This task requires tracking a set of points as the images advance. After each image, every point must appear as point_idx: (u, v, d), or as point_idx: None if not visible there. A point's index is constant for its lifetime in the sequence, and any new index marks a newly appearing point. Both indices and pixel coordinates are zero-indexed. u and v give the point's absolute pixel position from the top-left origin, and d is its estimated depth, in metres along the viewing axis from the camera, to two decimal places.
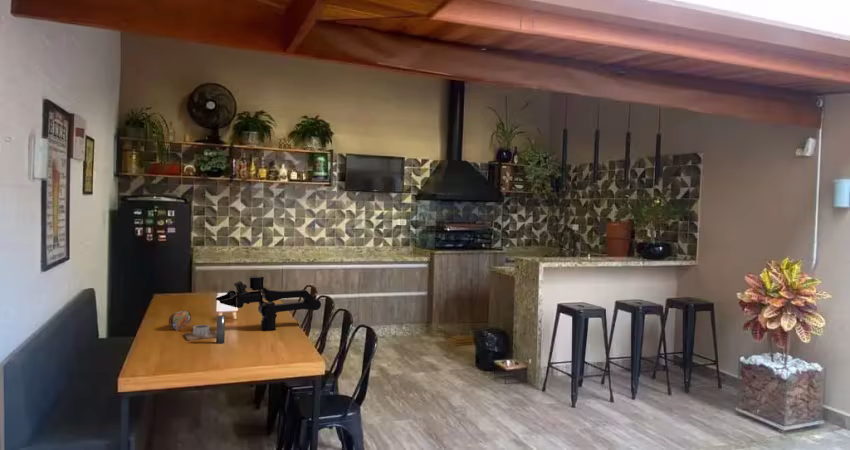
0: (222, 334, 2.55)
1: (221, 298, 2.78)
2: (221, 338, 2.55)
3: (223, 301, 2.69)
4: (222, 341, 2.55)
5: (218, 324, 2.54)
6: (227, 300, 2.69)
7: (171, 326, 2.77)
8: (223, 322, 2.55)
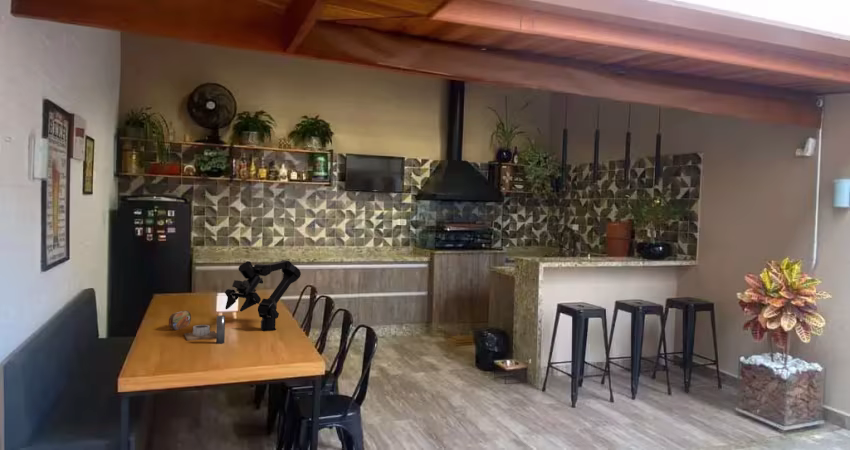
0: (222, 334, 2.55)
1: (229, 304, 2.67)
2: (221, 338, 2.55)
3: (243, 308, 2.62)
4: (222, 341, 2.55)
5: (218, 324, 2.54)
6: (245, 305, 2.63)
7: (171, 326, 2.77)
8: (223, 322, 2.55)
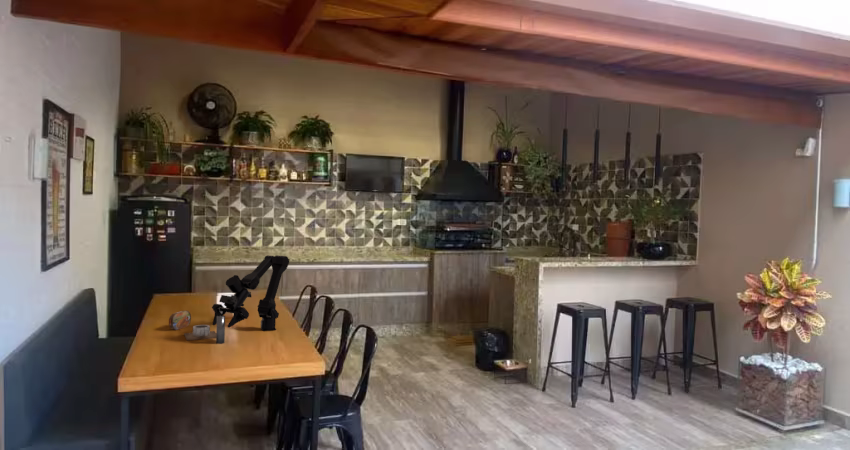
0: (222, 334, 2.55)
1: (216, 320, 2.60)
2: (221, 338, 2.55)
3: (230, 324, 2.55)
4: (222, 341, 2.55)
5: (218, 324, 2.54)
6: (233, 320, 2.55)
7: (171, 326, 2.77)
8: (223, 322, 2.55)
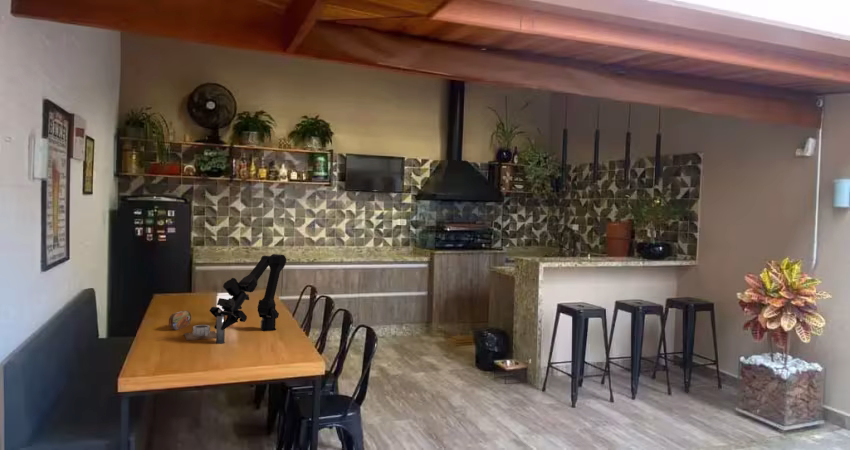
0: (222, 334, 2.55)
1: None
2: (221, 338, 2.55)
3: (224, 326, 2.55)
4: (222, 341, 2.55)
5: (218, 324, 2.54)
6: (226, 323, 2.55)
7: (171, 326, 2.77)
8: (223, 322, 2.55)
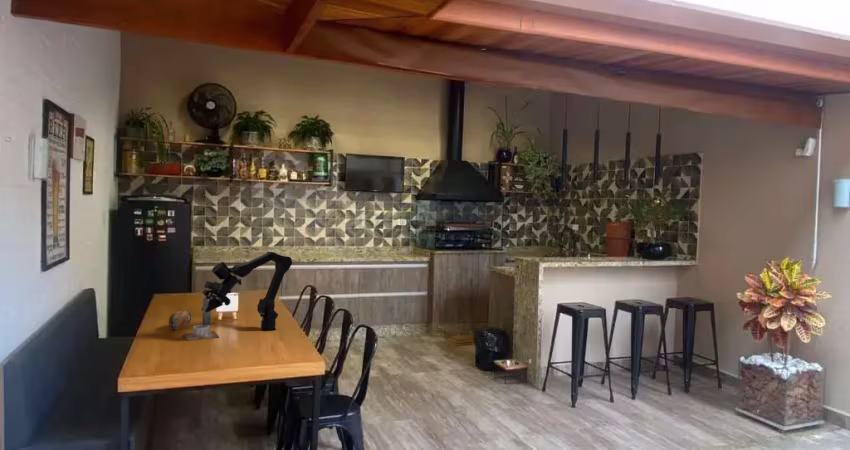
0: (207, 316, 2.60)
1: None
2: (206, 320, 2.60)
3: (208, 309, 2.60)
4: (207, 323, 2.61)
5: (203, 306, 2.60)
6: (211, 305, 2.60)
7: (171, 326, 2.77)
8: (208, 304, 2.60)
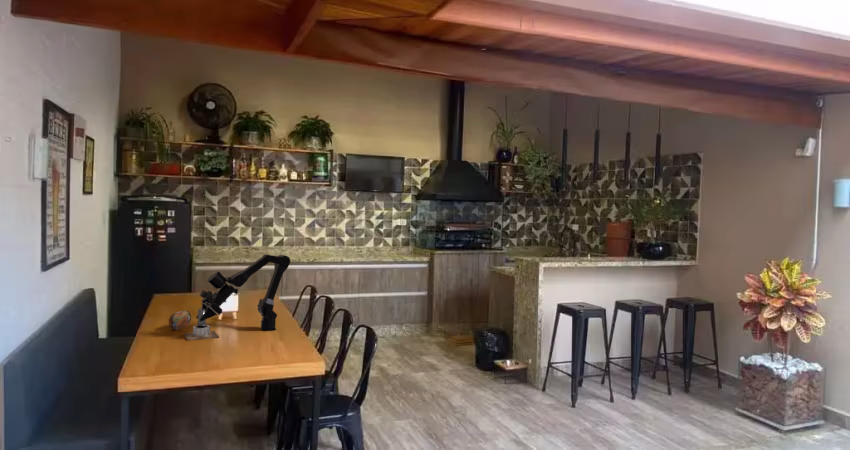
0: (201, 326, 2.65)
1: None
2: None
3: (202, 318, 2.63)
4: None
5: (198, 316, 2.66)
6: (205, 315, 2.63)
7: (171, 326, 2.77)
8: (202, 315, 2.66)
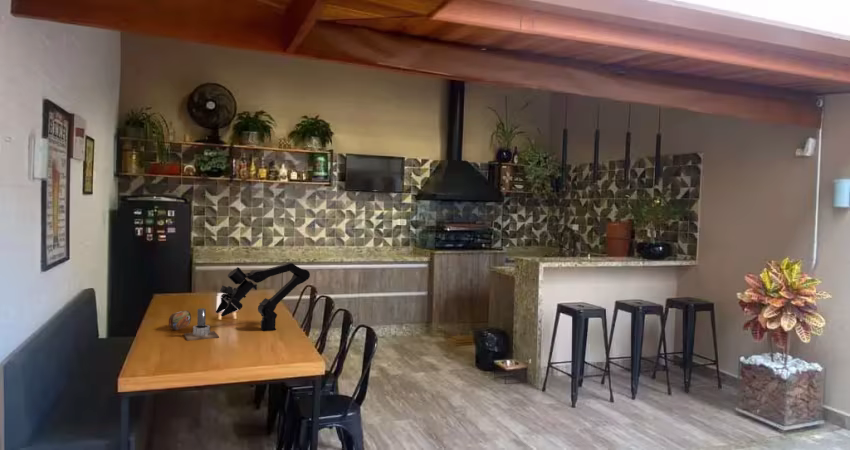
0: (201, 326, 2.65)
1: (220, 308, 2.76)
2: None
3: (223, 313, 2.68)
4: None
5: (197, 316, 2.66)
6: (226, 310, 2.68)
7: (171, 326, 2.77)
8: (202, 315, 2.65)
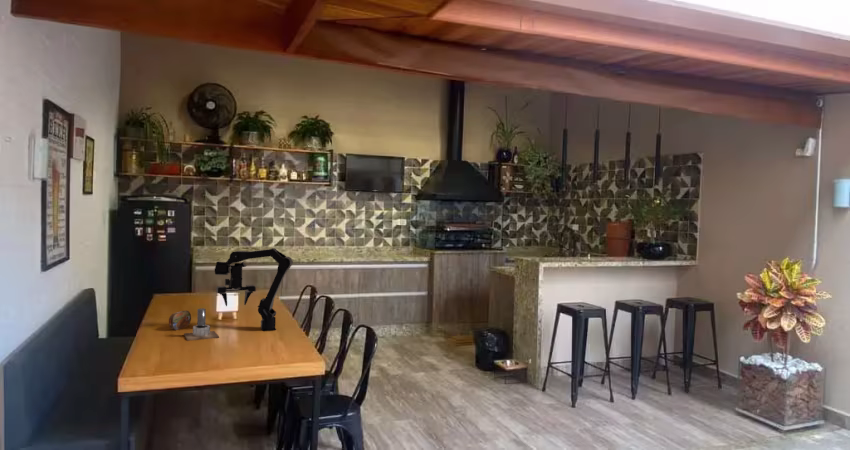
0: (201, 326, 2.65)
1: None
2: None
3: (225, 303, 2.83)
4: None
5: (197, 316, 2.66)
6: (224, 299, 2.83)
7: (171, 326, 2.77)
8: (202, 315, 2.65)
